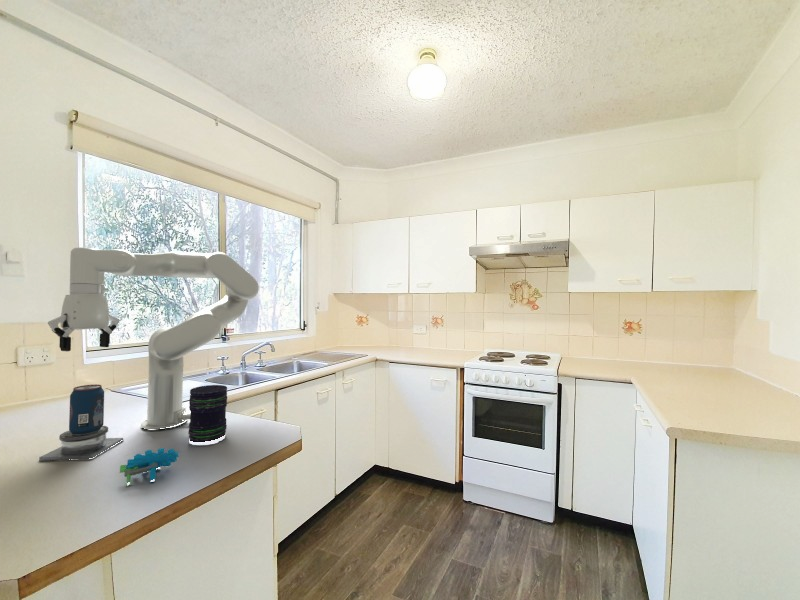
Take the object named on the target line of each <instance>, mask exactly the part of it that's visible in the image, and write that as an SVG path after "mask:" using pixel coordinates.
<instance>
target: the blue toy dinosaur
mask: <svg viewBox="0 0 800 600" xmlns="http://www.w3.org/2000/svg"><path fill="white" fill-rule="evenodd" d="M165 450H166V449H165V447H162V448H161V447H160V448H158V449H157V452H154V451H153V449H148V450H145V451H144V454H141V453H136V454H134V455H133V458H129V459H127V464H121V465H119V473H122V474H123V473H124V476H123V477H125V478H126V479H125V481H126V482H127V483H128V482H130V483H131V481H132V480H131V477H132V476H136V475H140V474H144V473H143V472H146V473H148V472H147V471H149V481H150V480H153V479H155V480H156V473H157V472H156V468H158V467H160V466H161V467H165V466H168V467H170V466H171V465H172V463H176V462H177V459H178V458H179V455H180V454H179V452H178V451H175V448H169V449H168V450H167V452H166V451H165Z"/></svg>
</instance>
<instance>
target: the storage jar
mask: <svg viewBox="0 0 800 600" xmlns="http://www.w3.org/2000/svg"><path fill="white" fill-rule="evenodd" d="M188 404H189V407H188V408H189V412H190V419H189V421H190V422H189V423H188V432H187V433H188V440H189V439H190V441H193V442H205V441H211V440H215V439H218V438H220V437H222V436H224V435H225V434H226V433H227V429H228V428H227V426H228V425H227V418H226V415H227V414H226V412H227V411H226V410H227V409H226V408H227V406H228V387H227V386H226V385H223V384H222V385H220V384H209V385H207V384H206V385H201V386H197V387H193V388H191V389H190V390H189V403H188Z"/></svg>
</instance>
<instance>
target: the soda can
mask: <svg viewBox="0 0 800 600" xmlns="http://www.w3.org/2000/svg"><path fill="white" fill-rule="evenodd" d="M72 389H73V390H72V391H71V394H70V395H69V418H68V421H69V422H68V431H70V432H71V433H72V434H73V435H87V434H91V433H95V432H97V431H99V430H100V429H101V427H102V426H104V418H105V416H104V415H105V414H104V413H105V411H104V410H105V390H104V389H103V388H102V384H85V385H79V386H75V387H73V388H72Z"/></svg>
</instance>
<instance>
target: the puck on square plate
mask: <svg viewBox="0 0 800 600" xmlns="http://www.w3.org/2000/svg"><path fill="white" fill-rule="evenodd" d="M108 432H109V427H108V426H106V425H103V426H102V427H101V429H100V430H99V431H97V432H95V433H91V434H87V435H73V434H72V433H71V432H70V431H69V430H67V431H64V432H62V433H61V434H59V439H58V440H59V441H60V444H61V445H60V446H59V447H57V448H56V449H55V448H54V449H53V450H52V451H49V452H46V453H45V454H43V455H41V456H39V459H38V460H39V462H53V461H52V460H69V459H70V460H69V461H72V460H71V459H89V458H93V457H95V456H96V455H98V454H100V453H101V452H103V451H105V450H107V449H108V448H110V447H111V446H113V445H115V444H116V443H118V442H120V441H121V440H123V441H124V437H107V433H108ZM50 460H51V461H50Z"/></svg>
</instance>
